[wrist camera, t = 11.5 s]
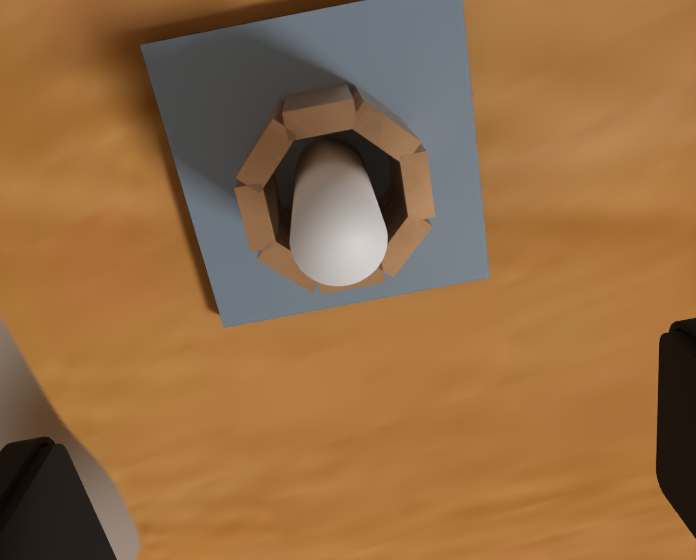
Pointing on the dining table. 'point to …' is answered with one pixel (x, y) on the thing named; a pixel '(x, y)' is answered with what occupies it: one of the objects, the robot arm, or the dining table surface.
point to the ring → (318, 119)
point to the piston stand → (324, 149)
